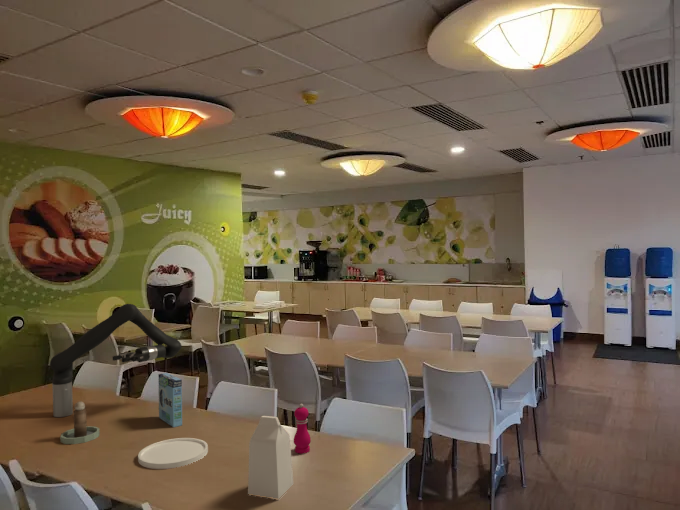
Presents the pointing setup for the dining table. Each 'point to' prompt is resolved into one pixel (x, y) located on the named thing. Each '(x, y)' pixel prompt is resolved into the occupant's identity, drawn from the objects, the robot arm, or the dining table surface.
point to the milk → (270, 459)
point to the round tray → (69, 437)
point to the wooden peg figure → (80, 420)
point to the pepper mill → (302, 431)
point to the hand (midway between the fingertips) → (117, 359)
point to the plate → (172, 453)
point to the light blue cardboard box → (170, 399)
